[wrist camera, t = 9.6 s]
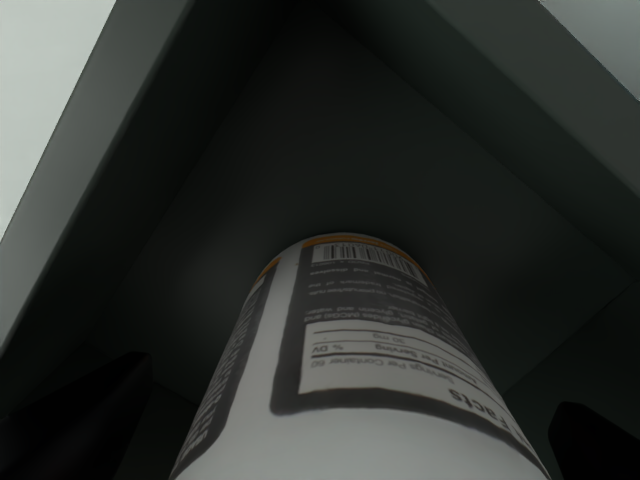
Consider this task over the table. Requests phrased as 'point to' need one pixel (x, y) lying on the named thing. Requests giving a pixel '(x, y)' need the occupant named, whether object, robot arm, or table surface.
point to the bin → (330, 196)
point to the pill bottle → (351, 379)
